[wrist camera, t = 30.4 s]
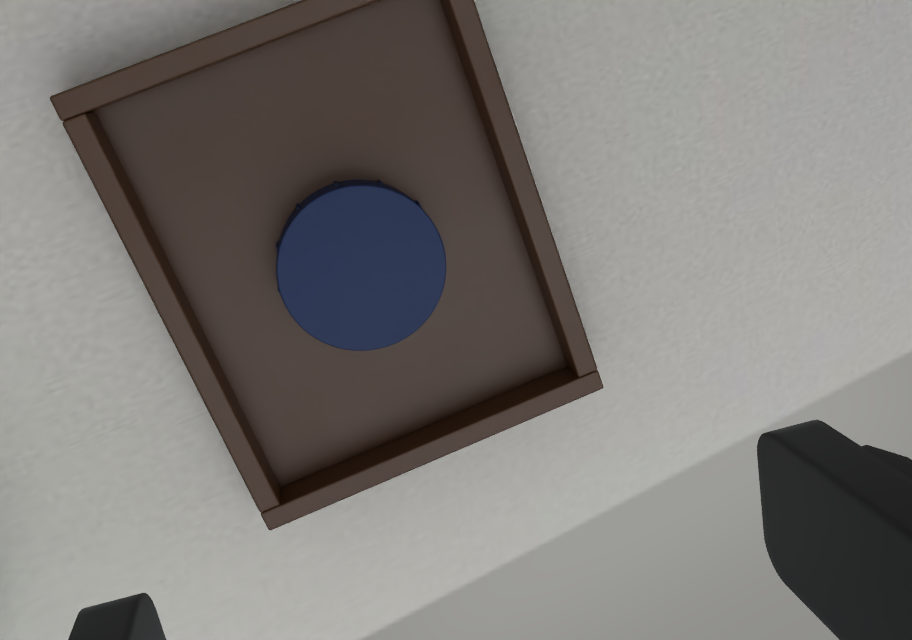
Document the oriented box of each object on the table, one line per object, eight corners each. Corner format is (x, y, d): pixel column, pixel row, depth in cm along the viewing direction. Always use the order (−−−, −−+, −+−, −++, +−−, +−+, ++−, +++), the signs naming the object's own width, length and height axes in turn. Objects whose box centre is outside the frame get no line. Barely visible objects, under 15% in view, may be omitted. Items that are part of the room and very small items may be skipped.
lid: (324, 148, 30) (326, 153, 29) (467, 227, 32) (476, 235, 31) (247, 294, 31) (245, 305, 30) (390, 364, 33) (395, 378, 31)
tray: (586, 370, 35) (604, 388, 33) (269, 505, 34) (269, 531, 32) (443, -50, 30) (454, -59, 28) (64, 95, 29) (48, 97, 27)
